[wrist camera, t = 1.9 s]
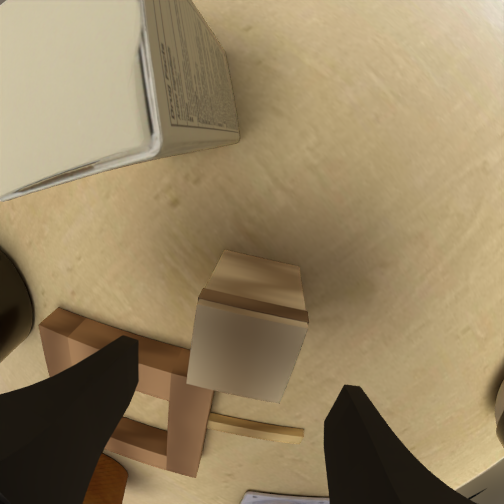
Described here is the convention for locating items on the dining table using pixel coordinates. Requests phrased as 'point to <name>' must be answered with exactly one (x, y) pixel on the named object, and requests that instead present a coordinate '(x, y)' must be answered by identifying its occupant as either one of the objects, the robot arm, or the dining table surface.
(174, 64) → the box
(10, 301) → the ink bottle
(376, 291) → the dining table surface
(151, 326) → the dining table surface
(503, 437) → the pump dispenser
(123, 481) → the disposable coffee cup
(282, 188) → the dining table surface
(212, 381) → the beige banded block
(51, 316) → the wooden frame with handle
